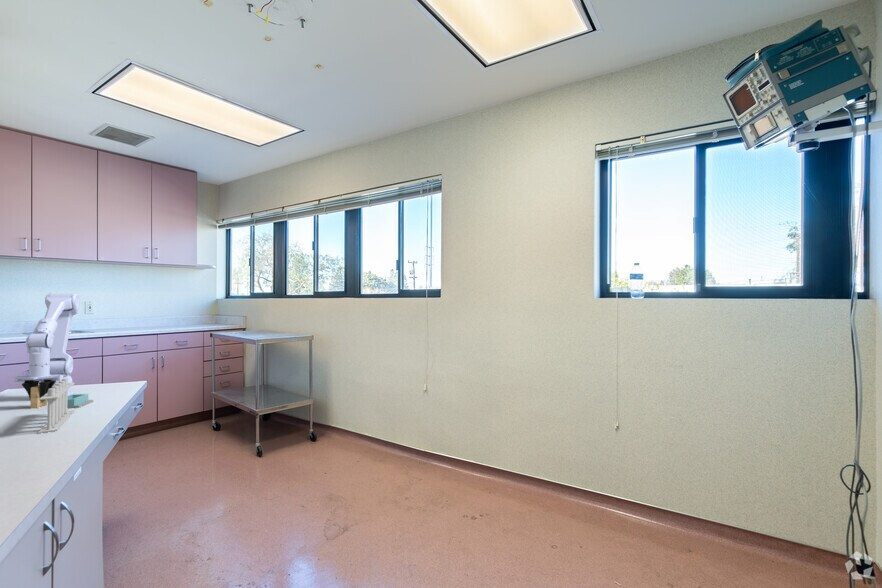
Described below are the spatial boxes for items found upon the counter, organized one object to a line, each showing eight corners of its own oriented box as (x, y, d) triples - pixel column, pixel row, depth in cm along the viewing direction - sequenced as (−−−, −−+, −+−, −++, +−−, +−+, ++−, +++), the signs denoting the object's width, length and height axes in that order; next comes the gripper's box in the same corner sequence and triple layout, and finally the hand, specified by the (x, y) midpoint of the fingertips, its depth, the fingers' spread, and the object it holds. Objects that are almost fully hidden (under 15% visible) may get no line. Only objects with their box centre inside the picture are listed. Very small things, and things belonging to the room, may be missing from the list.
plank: (40, 405, 157) (40, 384, 157) (47, 404, 158) (47, 384, 158) (30, 408, 153) (30, 387, 153) (37, 408, 153) (37, 387, 153)
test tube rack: (57, 431, 128) (58, 390, 128) (38, 434, 126) (38, 391, 126) (74, 412, 149) (75, 376, 149) (58, 414, 147) (58, 377, 147)
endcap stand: (66, 402, 161) (66, 394, 161) (93, 401, 163) (93, 393, 163) (50, 409, 152) (50, 400, 152) (78, 407, 154) (78, 399, 154)
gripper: (8, 366, 150) (7, 403, 150) (54, 365, 153) (54, 401, 153) (22, 363, 157) (22, 398, 157) (67, 362, 160) (66, 397, 160)
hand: (39, 399), depth 155 cm, fingers open, 3 cm apart
